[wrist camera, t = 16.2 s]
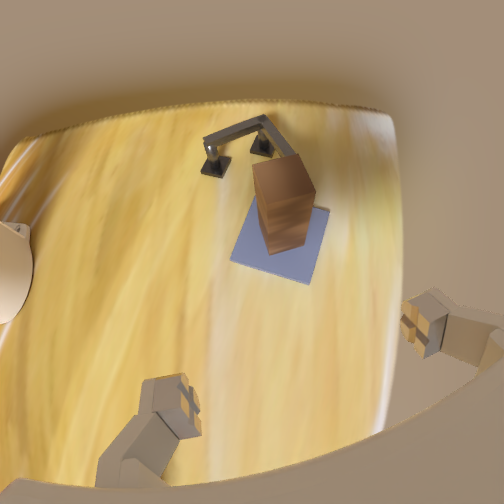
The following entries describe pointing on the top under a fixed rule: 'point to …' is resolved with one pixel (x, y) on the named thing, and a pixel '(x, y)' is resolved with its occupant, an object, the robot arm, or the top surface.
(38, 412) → the top surface
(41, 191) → the top surface
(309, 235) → the pad
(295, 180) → the walnut peg
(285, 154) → the bent rail on posts
